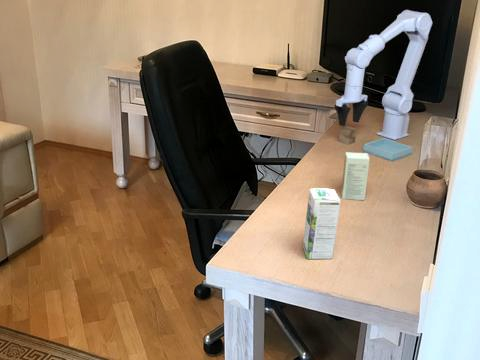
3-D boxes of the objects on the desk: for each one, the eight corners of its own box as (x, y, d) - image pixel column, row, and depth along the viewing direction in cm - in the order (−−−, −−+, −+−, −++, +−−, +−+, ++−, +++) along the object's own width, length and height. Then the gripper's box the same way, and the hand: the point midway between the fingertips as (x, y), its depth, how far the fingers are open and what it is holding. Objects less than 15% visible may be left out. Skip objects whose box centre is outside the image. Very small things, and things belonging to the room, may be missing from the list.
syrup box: (301, 246, 119) (307, 187, 113) (327, 246, 120) (334, 187, 114) (306, 259, 114) (313, 199, 108) (333, 259, 114) (341, 199, 109)
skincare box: (363, 194, 146) (369, 153, 141) (364, 200, 142) (371, 158, 137) (339, 192, 147) (345, 151, 142) (340, 199, 143) (346, 156, 138)
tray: (383, 144, 186) (384, 137, 185) (411, 154, 178) (413, 147, 177) (362, 151, 178) (363, 144, 177) (391, 161, 171) (393, 154, 170)
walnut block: (345, 139, 189) (347, 126, 187) (354, 142, 186) (356, 129, 184) (338, 141, 187) (340, 128, 185) (347, 144, 184) (349, 131, 182)
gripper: (357, 80, 185) (352, 117, 191) (330, 85, 177) (326, 123, 182) (374, 84, 181) (368, 122, 186) (347, 89, 172) (342, 129, 177)
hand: (348, 123), depth 184 cm, fingers open, 7 cm apart
